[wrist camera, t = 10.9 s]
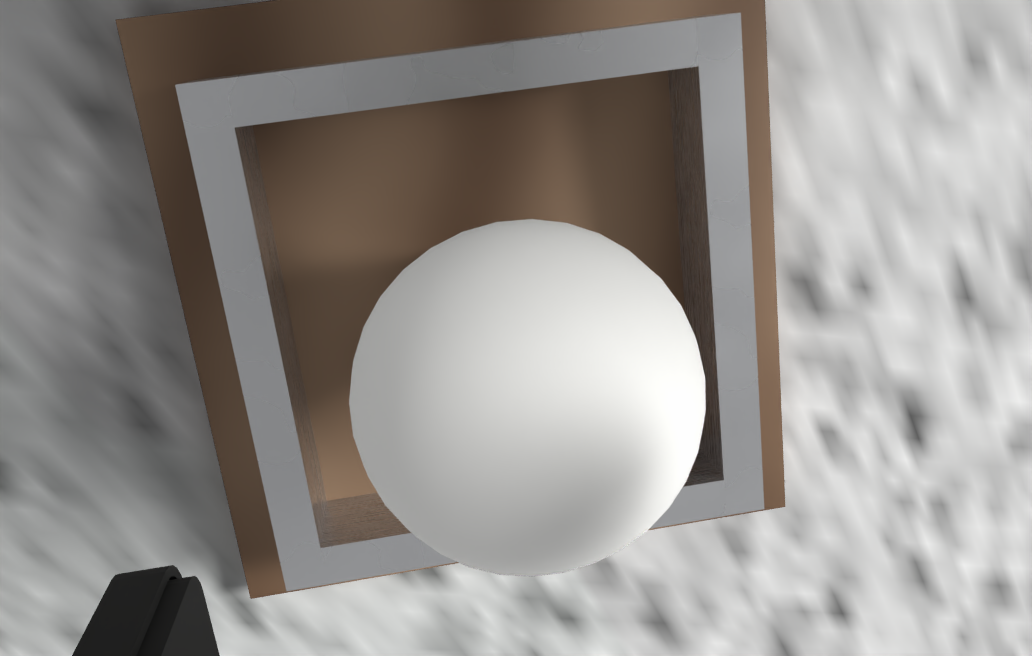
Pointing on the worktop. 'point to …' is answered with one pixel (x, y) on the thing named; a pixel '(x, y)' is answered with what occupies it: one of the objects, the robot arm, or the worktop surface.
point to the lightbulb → (527, 397)
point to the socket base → (421, 193)
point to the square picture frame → (455, 74)
